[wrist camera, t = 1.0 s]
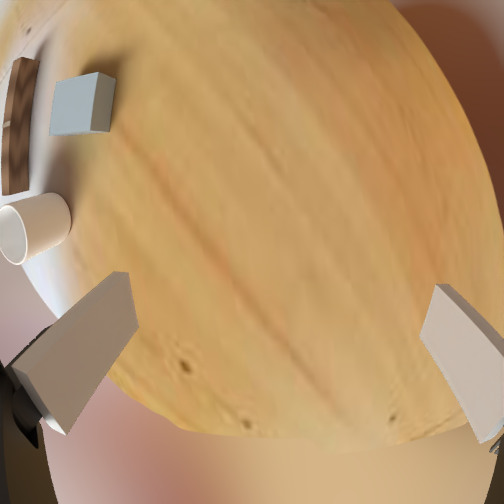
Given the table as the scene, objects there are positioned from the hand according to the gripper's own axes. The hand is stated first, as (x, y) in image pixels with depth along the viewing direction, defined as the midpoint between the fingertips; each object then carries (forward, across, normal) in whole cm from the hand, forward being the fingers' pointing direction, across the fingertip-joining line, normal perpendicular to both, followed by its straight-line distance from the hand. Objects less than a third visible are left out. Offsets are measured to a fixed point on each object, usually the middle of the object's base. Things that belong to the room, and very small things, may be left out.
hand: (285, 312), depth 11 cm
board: (+25, -43, +16) cm, 52 cm away
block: (+25, -27, +15) cm, 40 cm away
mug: (+25, -37, -3) cm, 44 cm away
